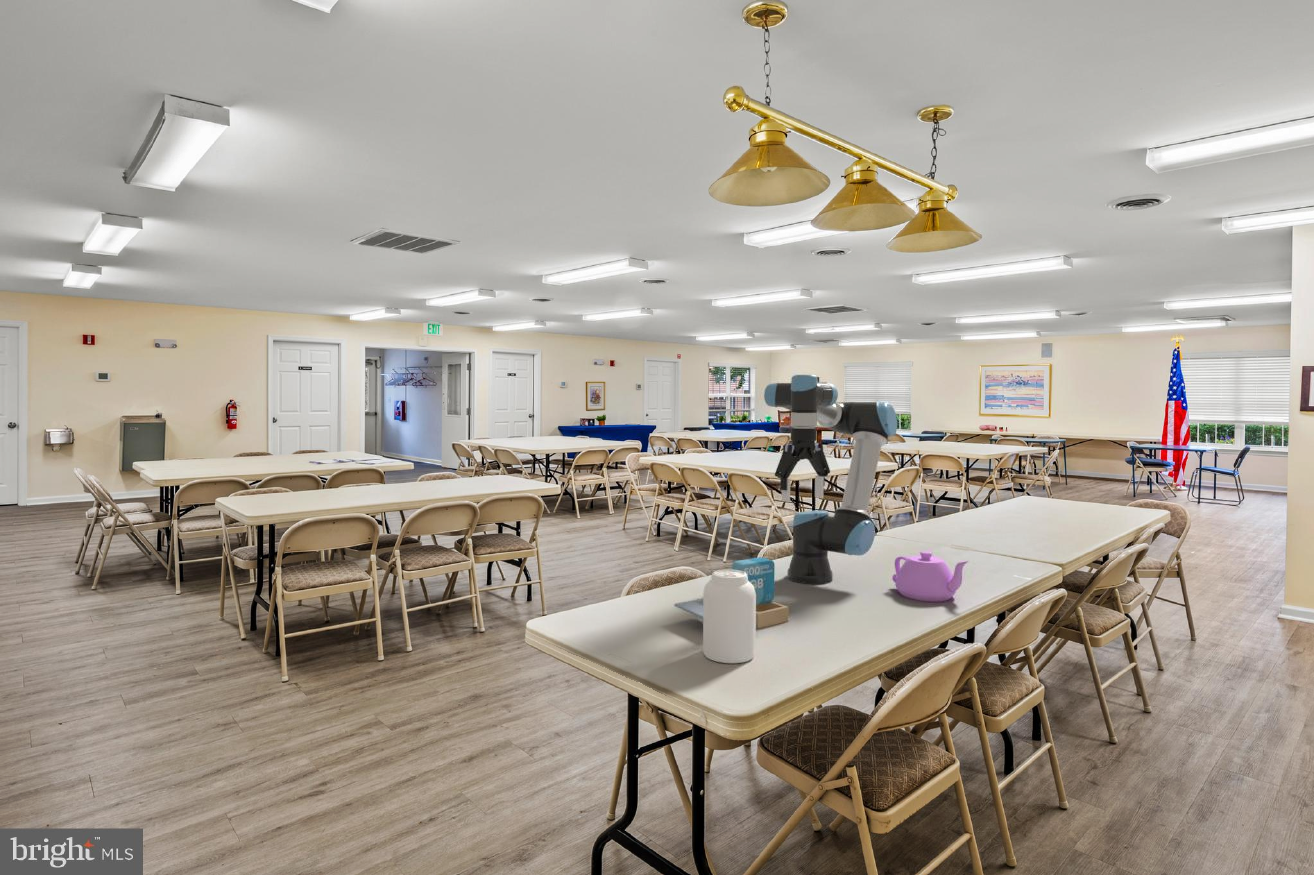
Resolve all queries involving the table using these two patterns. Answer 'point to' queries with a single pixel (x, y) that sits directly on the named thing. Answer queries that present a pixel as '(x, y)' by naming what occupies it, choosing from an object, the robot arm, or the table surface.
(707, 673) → the table surface
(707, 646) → the white bottle
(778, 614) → the light brown shallow tray
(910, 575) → the teapot
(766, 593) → the data package
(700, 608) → the lid
